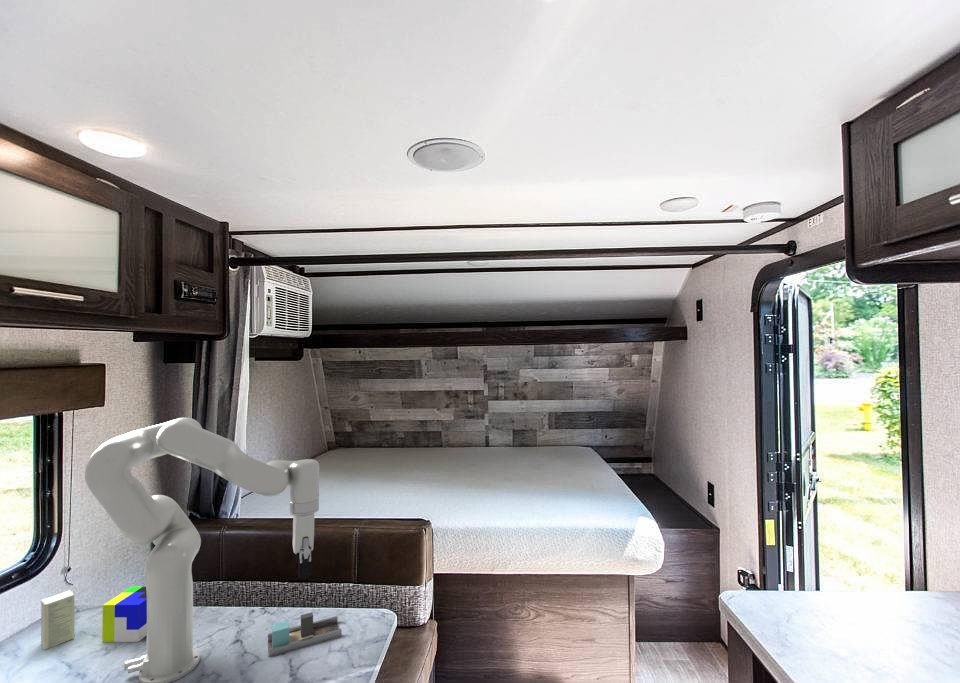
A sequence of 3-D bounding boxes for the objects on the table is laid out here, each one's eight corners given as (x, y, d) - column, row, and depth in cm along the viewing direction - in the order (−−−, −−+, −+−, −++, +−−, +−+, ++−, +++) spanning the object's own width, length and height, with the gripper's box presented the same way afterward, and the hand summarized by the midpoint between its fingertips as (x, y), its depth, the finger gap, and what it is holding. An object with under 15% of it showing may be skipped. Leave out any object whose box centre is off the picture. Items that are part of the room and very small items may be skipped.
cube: (272, 647, 116) (272, 631, 117) (272, 639, 120) (272, 623, 120) (289, 643, 118) (289, 627, 118) (288, 635, 122) (288, 619, 122)
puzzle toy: (138, 642, 123) (138, 604, 123) (102, 642, 123) (102, 605, 124) (164, 620, 133) (164, 586, 133) (131, 621, 133) (131, 586, 133)
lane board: (268, 660, 114) (268, 650, 114) (267, 642, 121) (267, 633, 121) (341, 639, 122) (341, 630, 122) (337, 624, 129) (337, 615, 129)
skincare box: (70, 633, 128) (71, 589, 128) (74, 638, 125) (75, 593, 125) (39, 644, 122) (40, 599, 123) (43, 650, 120) (44, 604, 120)
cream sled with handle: (272, 652, 116) (272, 629, 116) (272, 640, 121) (272, 618, 121) (313, 641, 120) (313, 619, 120) (311, 630, 125) (311, 608, 125)
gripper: (288, 499, 130) (287, 559, 130) (291, 517, 115) (290, 586, 114) (315, 495, 133) (315, 554, 133) (322, 513, 118) (321, 580, 117)
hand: (303, 569), depth 123 cm, fingers open, 9 cm apart
